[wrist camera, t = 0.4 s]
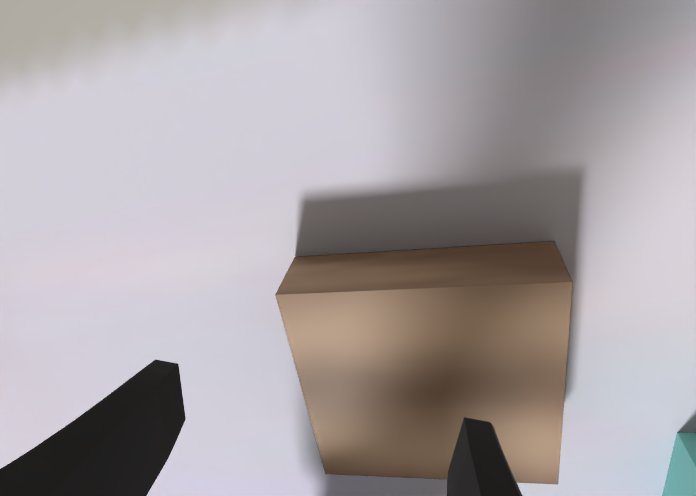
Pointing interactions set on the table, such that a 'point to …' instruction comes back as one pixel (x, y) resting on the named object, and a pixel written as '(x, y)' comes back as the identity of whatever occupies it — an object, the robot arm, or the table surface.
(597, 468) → the table surface
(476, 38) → the table surface
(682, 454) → the teal cube
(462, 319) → the walnut base
